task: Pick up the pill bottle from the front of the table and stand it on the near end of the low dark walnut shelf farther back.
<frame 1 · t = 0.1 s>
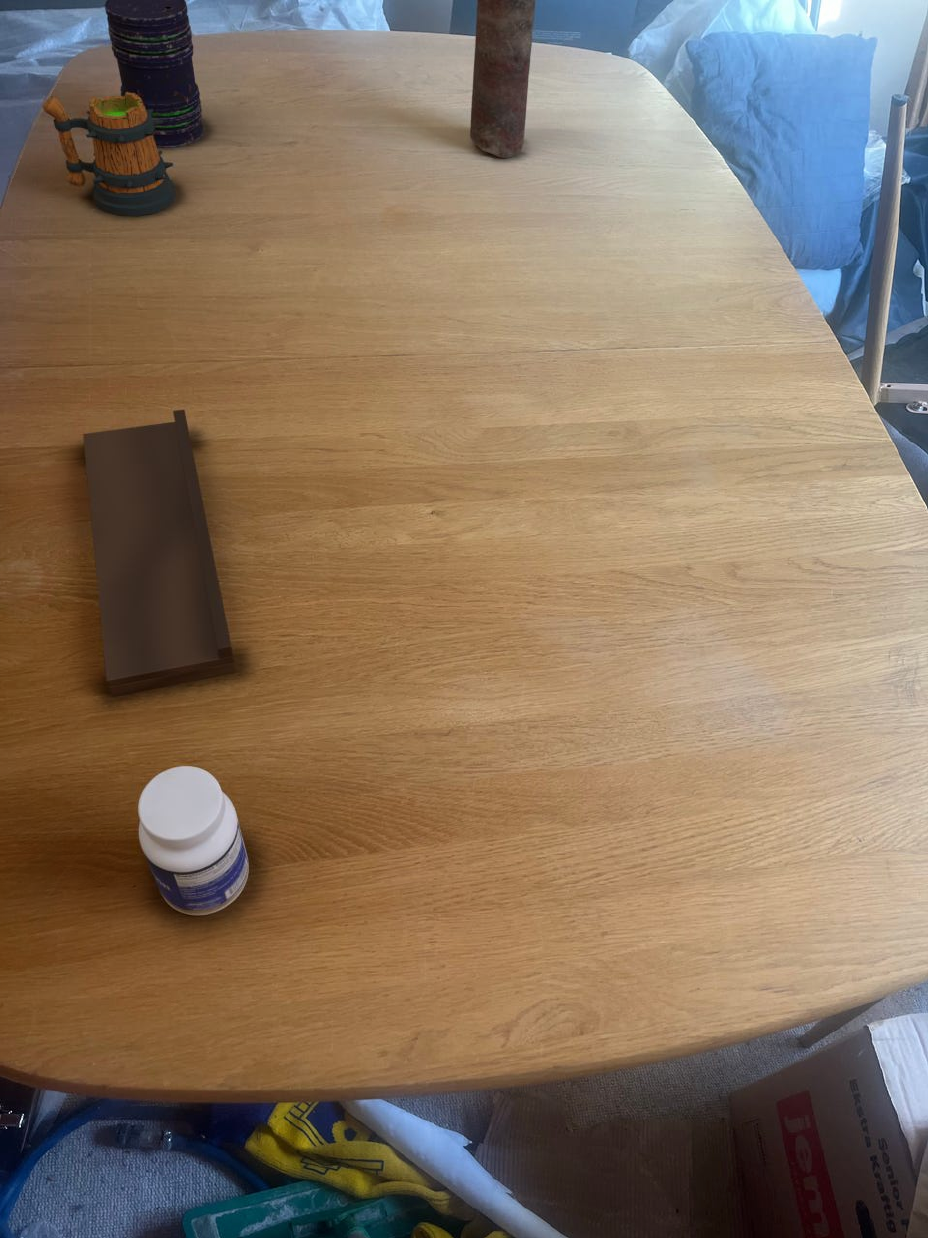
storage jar: (166, 132, 128), on the table
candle: (494, 147, 132), on the table
mug: (123, 198, 116), on the table
pill bottle: (205, 877, 62), on the table
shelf: (155, 551, 80), on the table
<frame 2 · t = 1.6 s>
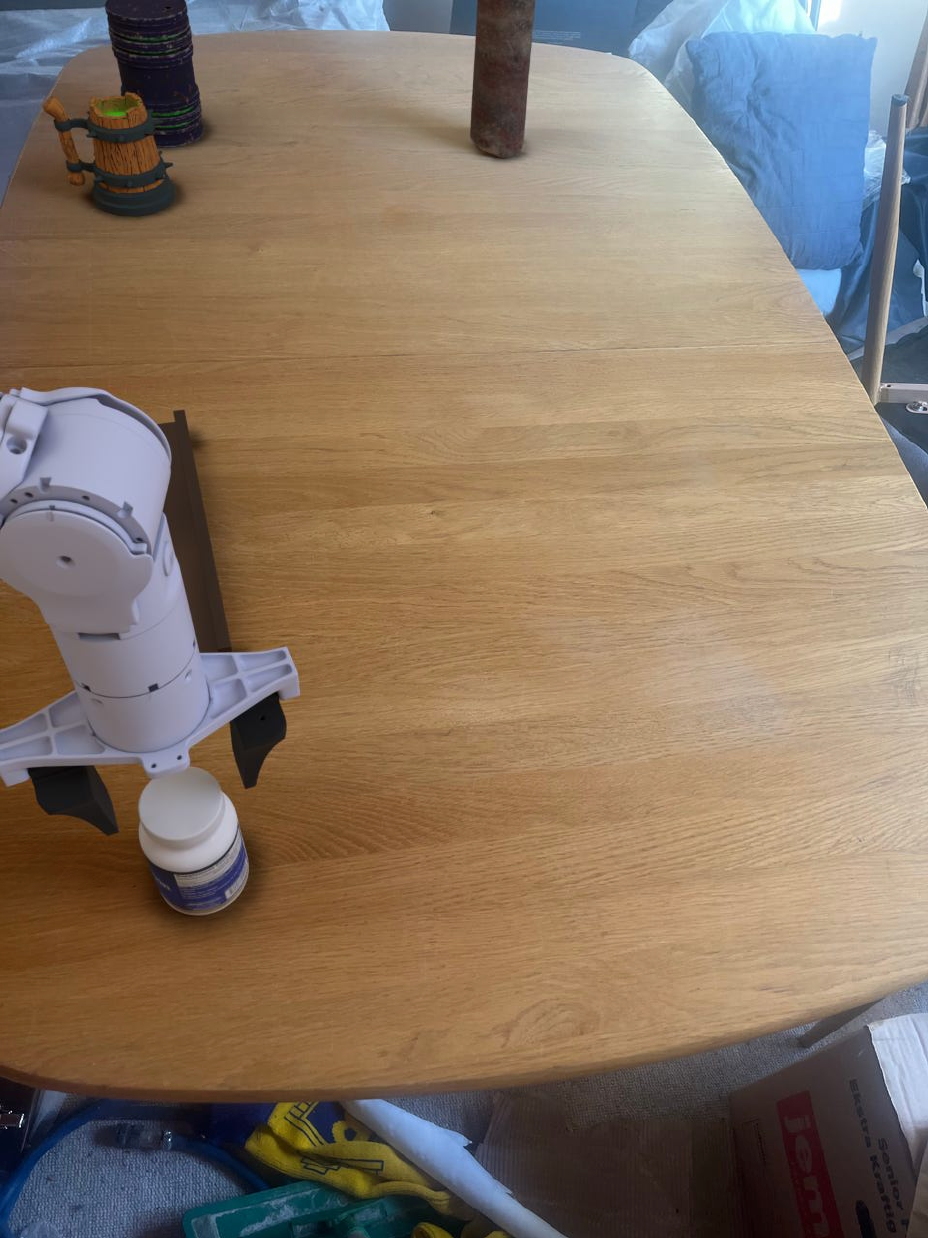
hand: (179, 795, 54), 10 cm above the table, tool pointing down, fingers open, 7 cm apart
nothing on the table moved.
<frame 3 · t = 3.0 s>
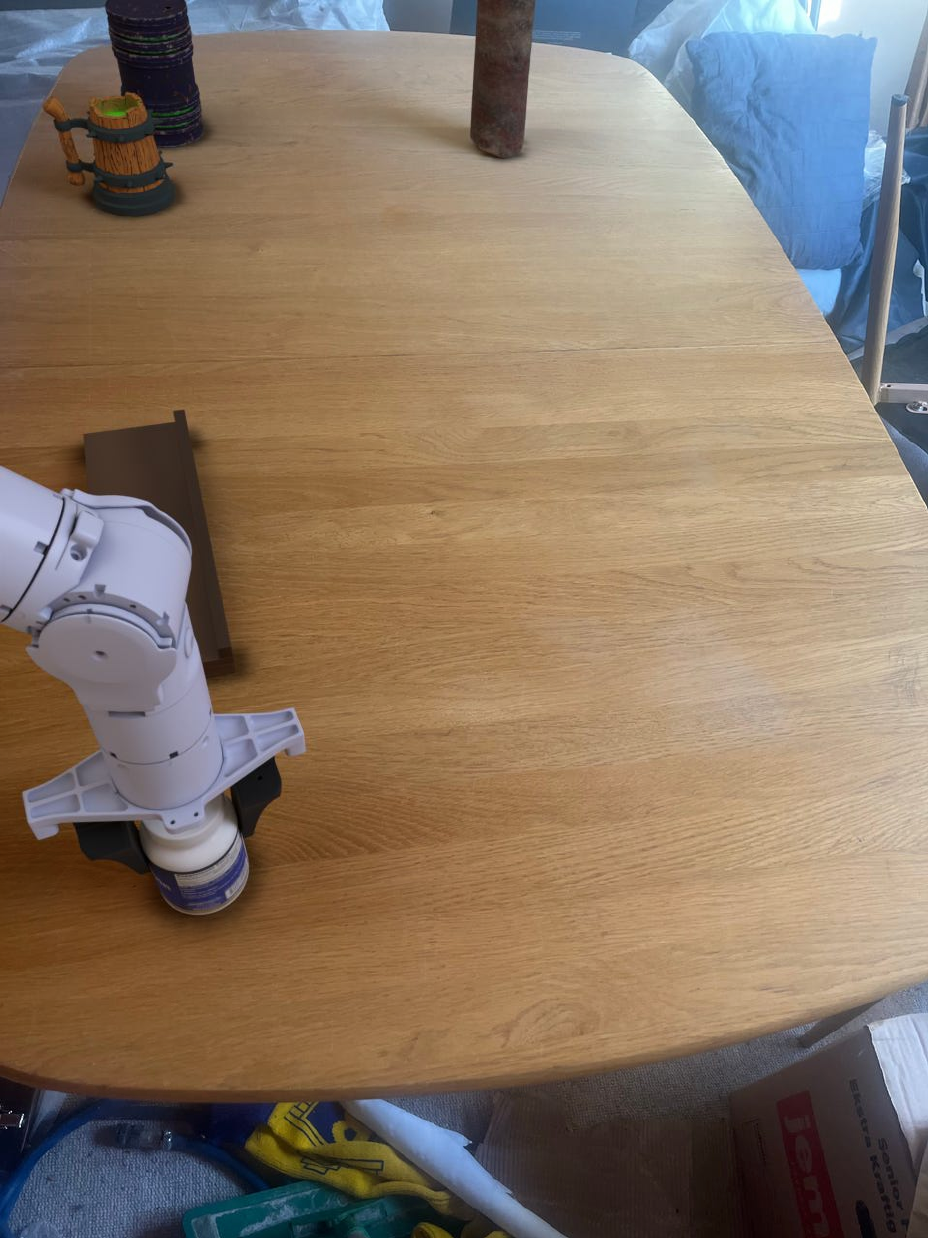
hand: (193, 841, 58), 5 cm above the table, tool pointing down, fingers closed on pill bottle, 5 cm apart
pill bottle: (205, 877, 62), on the table, touching gripper
everything else where it was.
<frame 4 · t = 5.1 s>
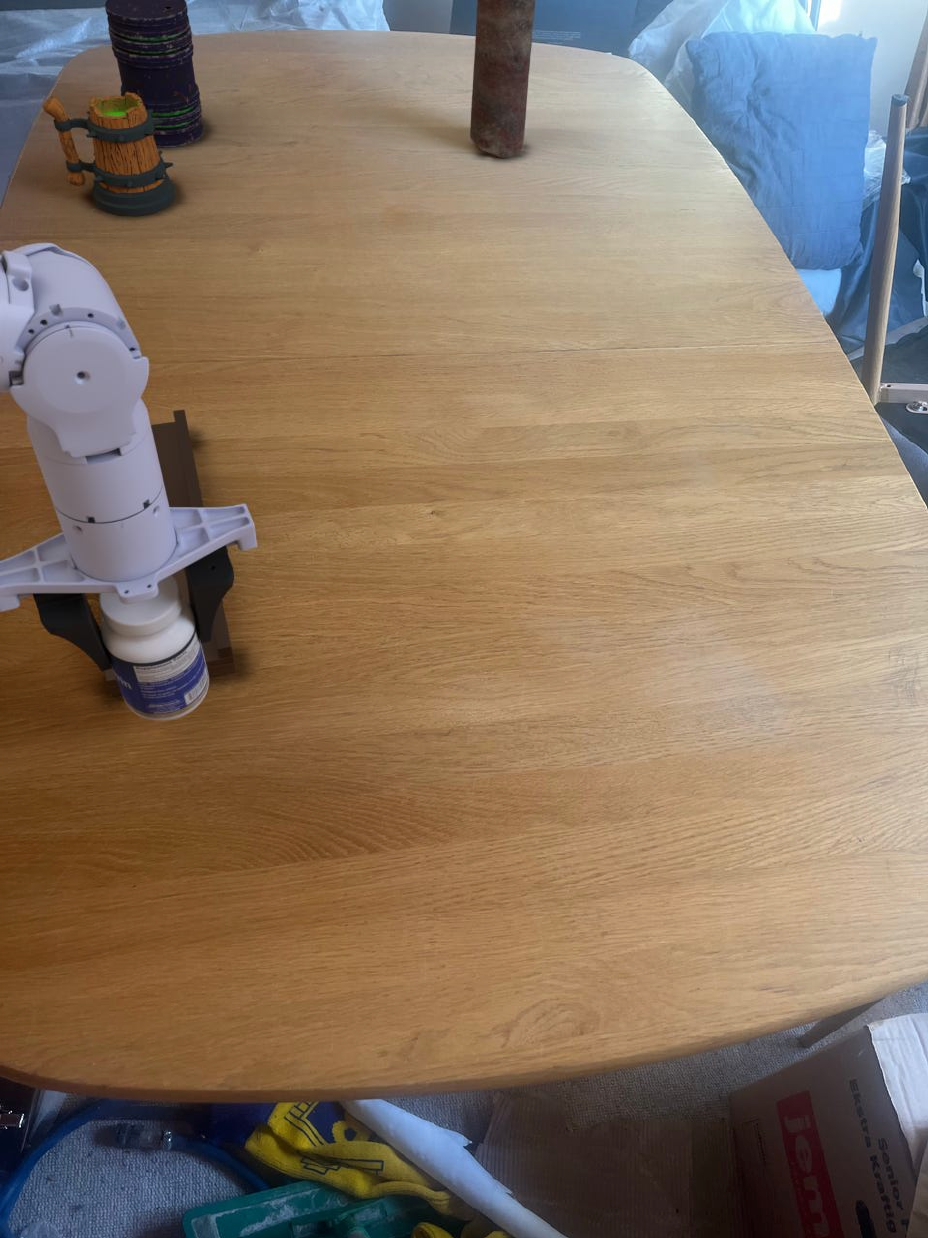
hand: (153, 644, 61), 10 cm above the table, tool pointing down, fingers closed on pill bottle, 5 cm apart
pill bottle: (167, 691, 65), point 5 cm above the table, touching gripper
everything else where it was.
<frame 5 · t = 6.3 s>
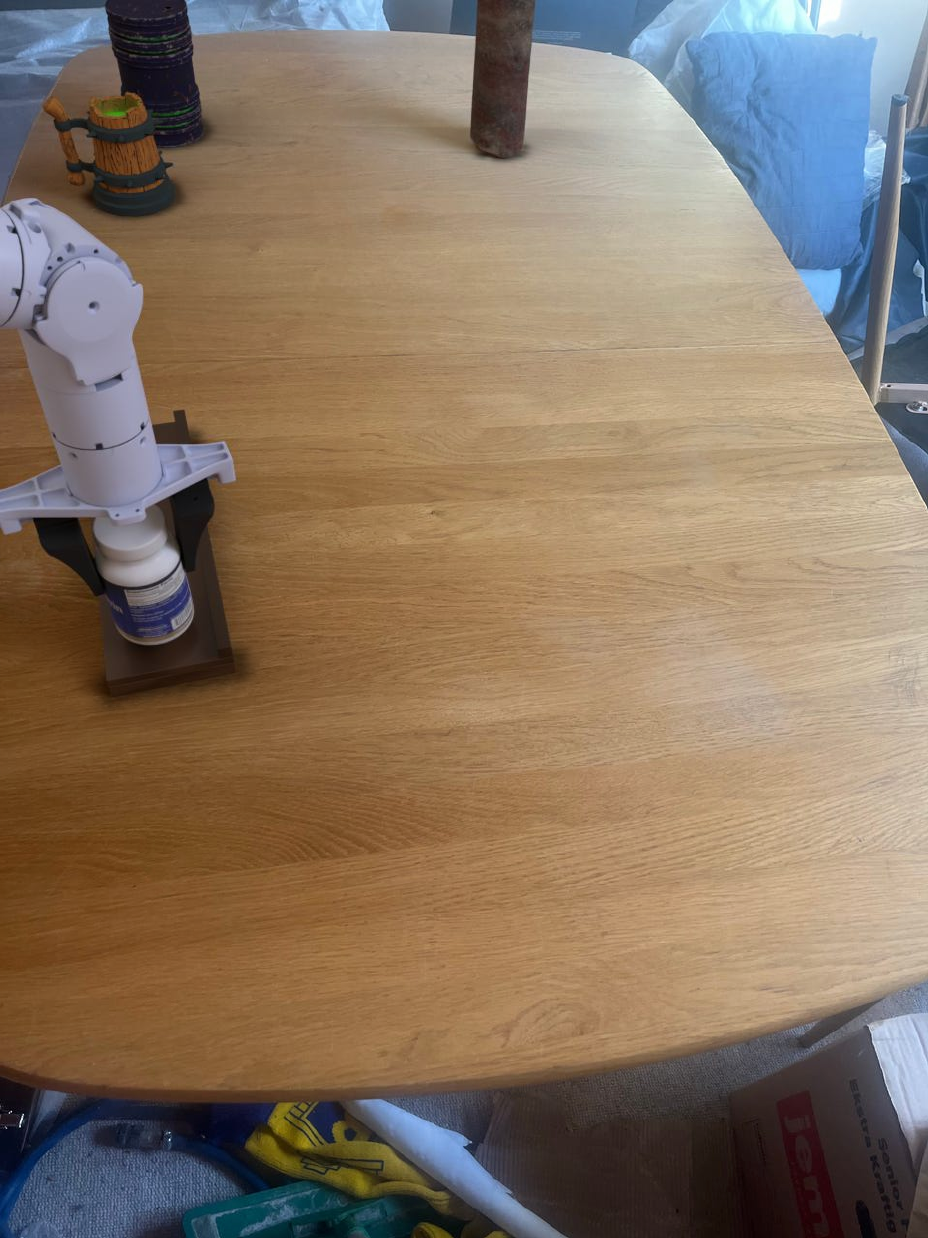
hand: (142, 573, 67), 8 cm above the table, tool pointing down, fingers closed on pill bottle, 5 cm apart
pill bottle: (156, 620, 71), point 3 cm above the table, touching gripper
everything else where it was.
when the fingers open (7 cm above the table, at t = 7.3 s): pill bottle stays where it is, resting on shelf.
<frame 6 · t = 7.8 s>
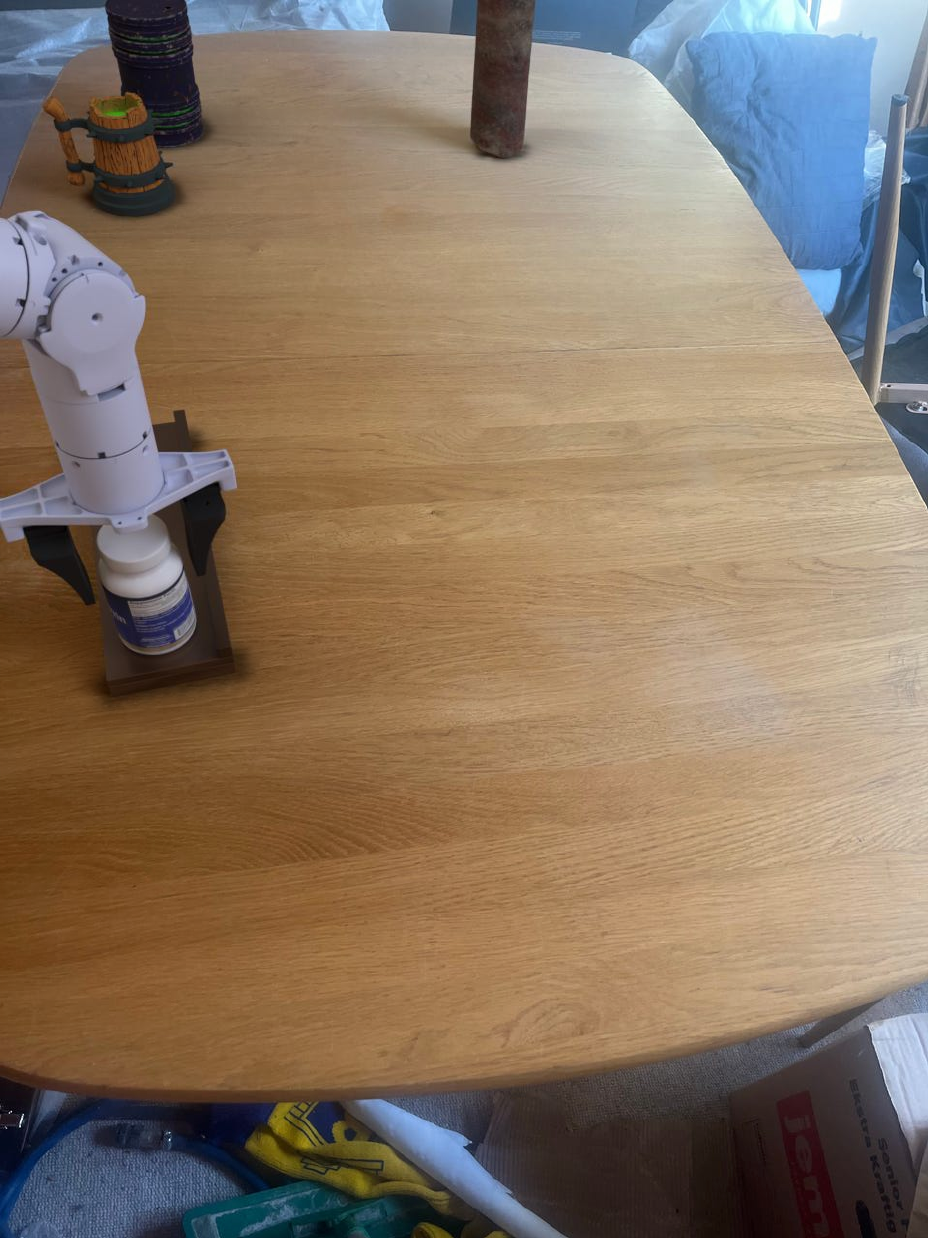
hand: (144, 580, 68), 7 cm above the table, tool pointing down, fingers open, 7 cm apart
pill bottle: (159, 629, 72), point 2 cm above the table, touching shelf
everything else where it was.
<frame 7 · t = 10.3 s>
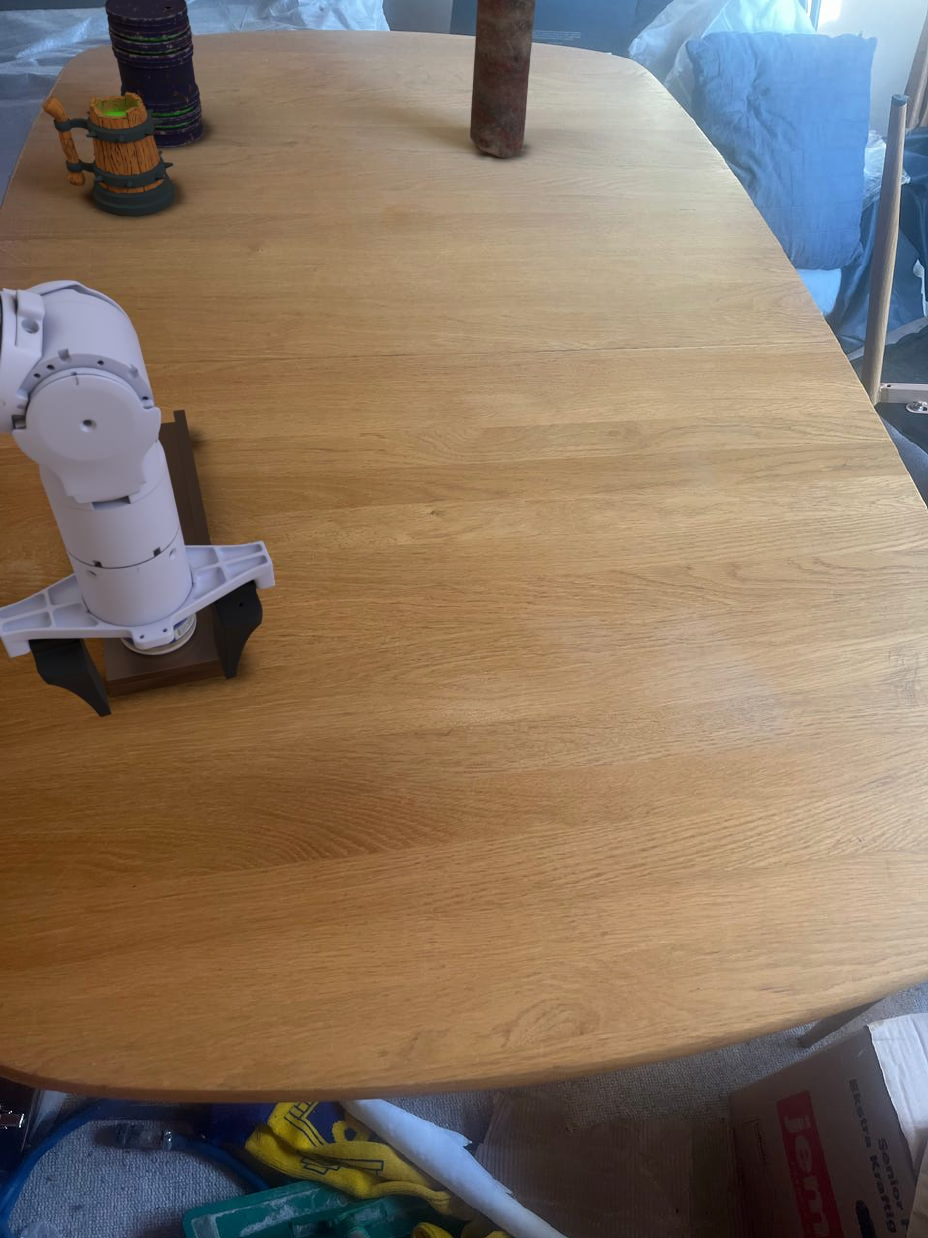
hand: (166, 684, 59), 10 cm above the table, tool pointing down, fingers open, 7 cm apart
nothing on the table moved.
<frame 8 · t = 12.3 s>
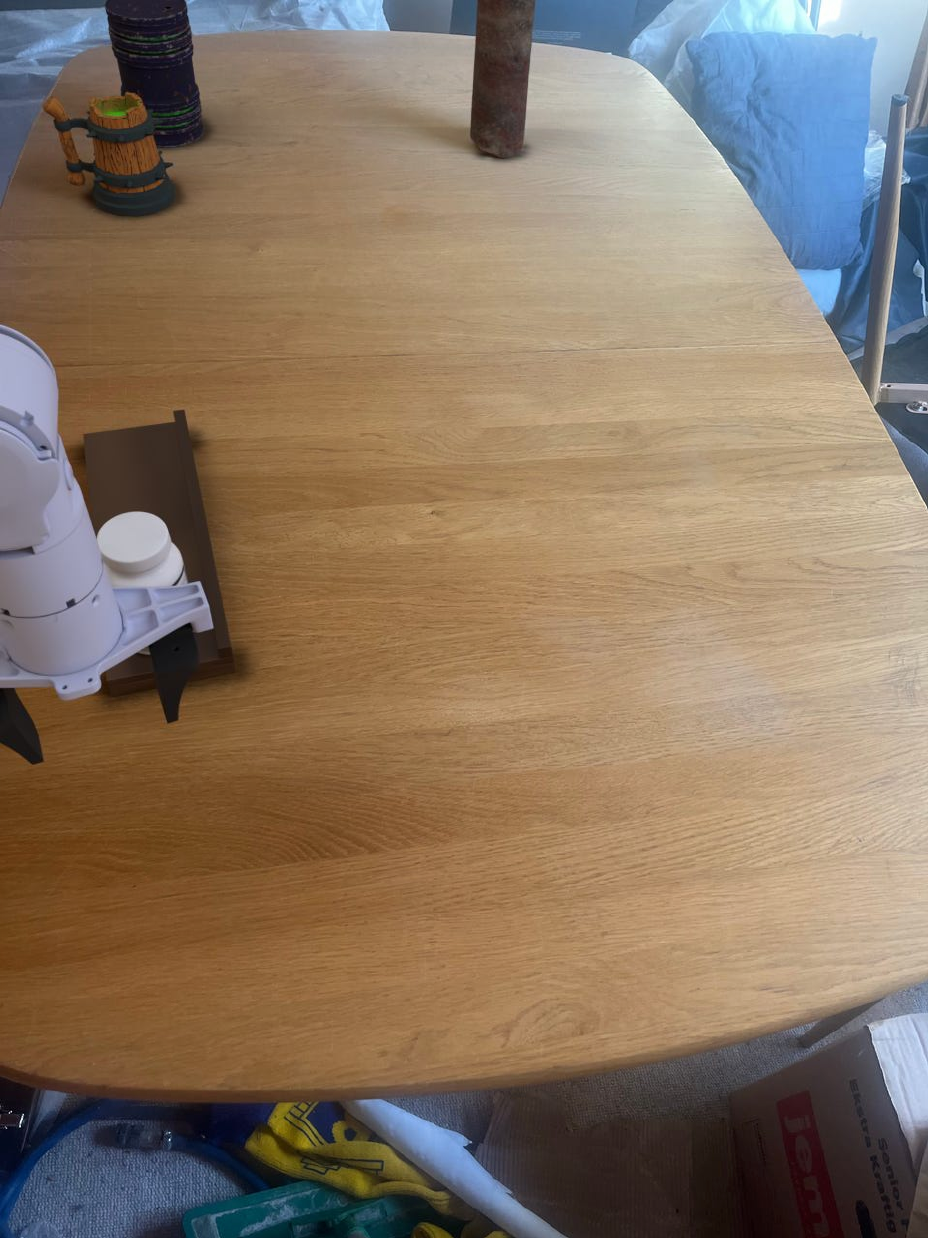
hand: (103, 729, 56), 10 cm above the table, tool pointing down, fingers open, 7 cm apart
nothing on the table moved.
at the end: pill bottle inside the target area on the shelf (9.9 cm from its centre), point 1.8 cm above the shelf's base; pill bottle tilted 0°; the gripper is holding nothing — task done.
